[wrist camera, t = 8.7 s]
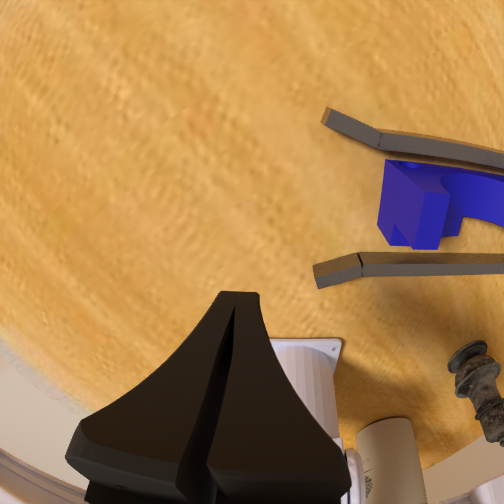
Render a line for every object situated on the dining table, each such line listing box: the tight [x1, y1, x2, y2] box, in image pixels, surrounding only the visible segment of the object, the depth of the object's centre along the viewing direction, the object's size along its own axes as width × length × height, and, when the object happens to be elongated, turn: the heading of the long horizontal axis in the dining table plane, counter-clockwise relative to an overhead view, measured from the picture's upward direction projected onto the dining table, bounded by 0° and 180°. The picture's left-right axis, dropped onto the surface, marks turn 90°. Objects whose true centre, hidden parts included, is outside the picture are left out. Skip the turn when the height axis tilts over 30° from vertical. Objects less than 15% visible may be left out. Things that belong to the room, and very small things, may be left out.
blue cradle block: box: [377, 159, 504, 250], centre depth 16 cm, size 12×4×6 cm, turn 92°
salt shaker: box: [448, 340, 504, 447], centre depth 21 cm, size 6×6×12 cm
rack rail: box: [313, 107, 504, 289], centre depth 18 cm, size 14×20×2 cm
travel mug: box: [356, 418, 427, 504], centre depth 27 cm, size 8×8×18 cm
